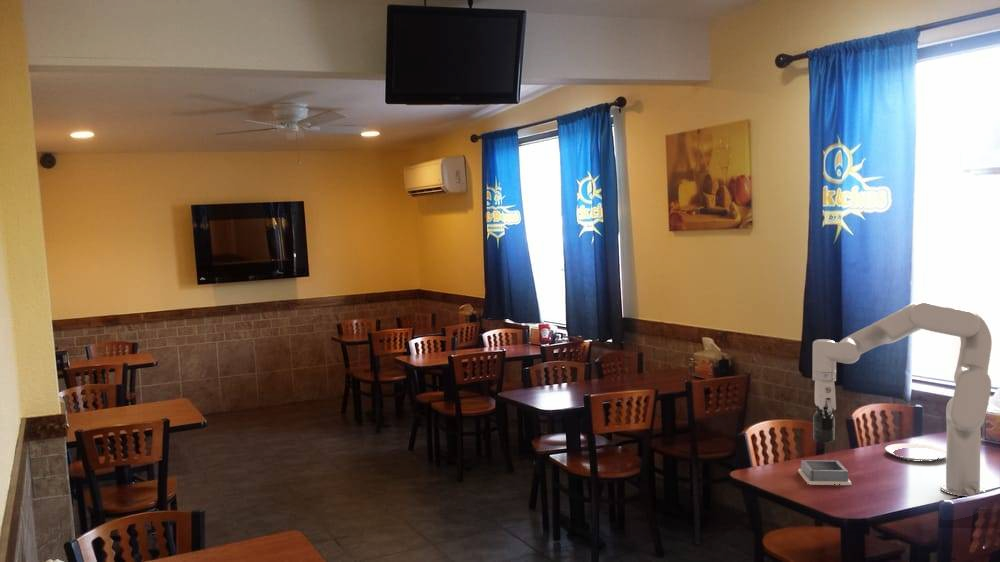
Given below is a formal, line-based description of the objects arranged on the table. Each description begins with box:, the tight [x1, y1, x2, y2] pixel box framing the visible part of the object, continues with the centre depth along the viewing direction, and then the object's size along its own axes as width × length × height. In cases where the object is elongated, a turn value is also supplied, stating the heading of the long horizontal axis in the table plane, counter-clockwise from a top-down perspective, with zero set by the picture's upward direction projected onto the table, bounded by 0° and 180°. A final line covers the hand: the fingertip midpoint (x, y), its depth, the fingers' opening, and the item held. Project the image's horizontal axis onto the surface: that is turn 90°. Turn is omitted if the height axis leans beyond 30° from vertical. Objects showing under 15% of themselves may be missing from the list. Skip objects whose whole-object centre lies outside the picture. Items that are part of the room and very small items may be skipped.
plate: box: [884, 442, 946, 461], centre depth 301 cm, size 21×21×2 cm
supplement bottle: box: [812, 406, 836, 443], centre depth 278 cm, size 7×7×12 cm
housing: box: [797, 459, 852, 486], centre depth 279 cm, size 14×14×4 cm
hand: (823, 426), depth 278 cm, fingers closed on supplement bottle, 6 cm apart
